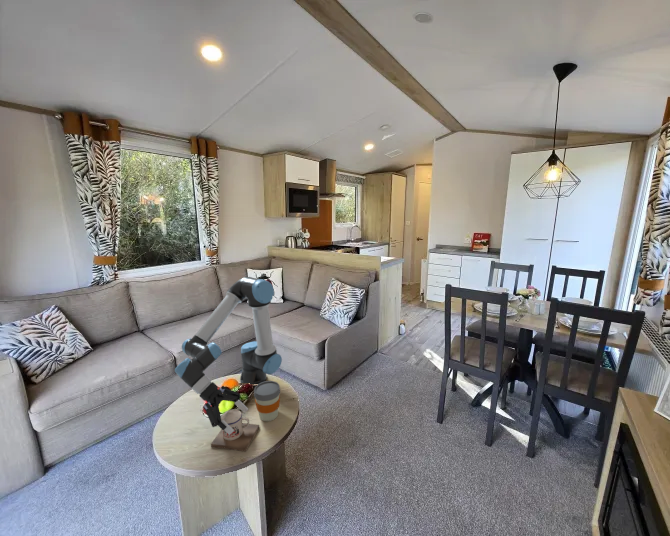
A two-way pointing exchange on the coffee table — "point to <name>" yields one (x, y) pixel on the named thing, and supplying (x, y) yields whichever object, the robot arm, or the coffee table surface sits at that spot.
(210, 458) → the coffee table surface
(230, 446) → the walnut board
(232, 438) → the teacup with lid
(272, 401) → the reusable coffee cup
